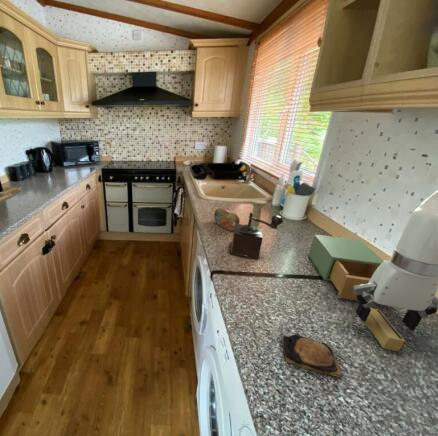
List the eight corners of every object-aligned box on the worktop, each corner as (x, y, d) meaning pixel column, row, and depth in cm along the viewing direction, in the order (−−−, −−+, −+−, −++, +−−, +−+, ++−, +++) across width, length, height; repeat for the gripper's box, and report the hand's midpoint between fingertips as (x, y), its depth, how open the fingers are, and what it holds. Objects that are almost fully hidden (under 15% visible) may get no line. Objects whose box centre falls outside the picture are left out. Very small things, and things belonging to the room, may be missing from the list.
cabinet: (376, 288, 77) (387, 264, 74) (324, 280, 81) (332, 256, 77) (351, 260, 92) (360, 239, 88) (308, 255, 96) (314, 234, 92)
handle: (245, 228, 118) (250, 199, 112) (259, 230, 116) (265, 200, 110) (246, 232, 114) (251, 202, 108) (260, 234, 112) (267, 203, 106)
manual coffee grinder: (230, 255, 95) (237, 212, 88) (231, 242, 104) (237, 203, 97) (273, 263, 90) (285, 218, 83) (270, 249, 100) (280, 208, 92)
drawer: (405, 319, 64) (417, 297, 61) (346, 308, 68) (355, 287, 65) (365, 274, 82) (373, 256, 79) (320, 268, 86) (326, 250, 83)
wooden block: (361, 317, 66) (366, 307, 65) (374, 319, 65) (379, 309, 64) (383, 348, 57) (389, 337, 56) (398, 351, 56) (405, 340, 55)
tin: (213, 221, 125) (214, 206, 122) (217, 220, 126) (219, 205, 123) (233, 233, 113) (236, 216, 109) (239, 232, 114) (241, 215, 111)
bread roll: (330, 347, 57) (335, 336, 56) (342, 381, 50) (348, 369, 48) (280, 334, 61) (283, 323, 59) (285, 363, 53) (289, 351, 52)
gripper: (450, 260, 54) (415, 318, 61) (359, 248, 58) (336, 303, 65) (482, 280, 47) (439, 343, 54) (377, 265, 52) (349, 325, 58)
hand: (383, 321), depth 60 cm, fingers open, 9 cm apart
